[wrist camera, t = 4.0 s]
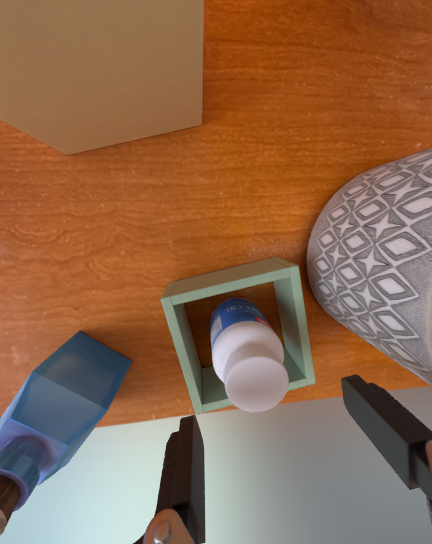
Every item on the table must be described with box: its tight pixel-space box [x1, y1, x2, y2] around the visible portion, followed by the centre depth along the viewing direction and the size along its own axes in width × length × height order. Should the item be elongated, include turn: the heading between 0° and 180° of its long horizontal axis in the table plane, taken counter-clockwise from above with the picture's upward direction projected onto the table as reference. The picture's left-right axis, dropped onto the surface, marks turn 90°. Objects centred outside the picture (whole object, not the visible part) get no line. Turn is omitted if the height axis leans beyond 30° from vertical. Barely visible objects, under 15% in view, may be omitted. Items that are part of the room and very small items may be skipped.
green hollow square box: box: [160, 257, 316, 414], centre depth 20 cm, size 11×11×5 cm
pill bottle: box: [210, 297, 289, 412], centre depth 18 cm, size 6×5×10 cm
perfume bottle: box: [0, 331, 132, 535], centre depth 17 cm, size 6×6×12 cm
